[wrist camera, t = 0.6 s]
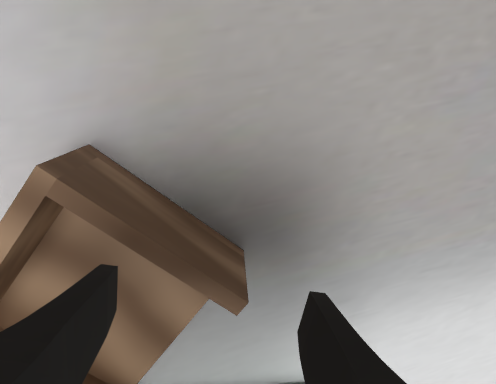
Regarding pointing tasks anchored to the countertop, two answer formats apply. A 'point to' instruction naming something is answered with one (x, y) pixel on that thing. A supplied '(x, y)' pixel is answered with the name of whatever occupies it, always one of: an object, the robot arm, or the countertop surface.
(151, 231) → the brown wooden open box
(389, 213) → the countertop surface
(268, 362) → the countertop surface
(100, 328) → the robot arm
